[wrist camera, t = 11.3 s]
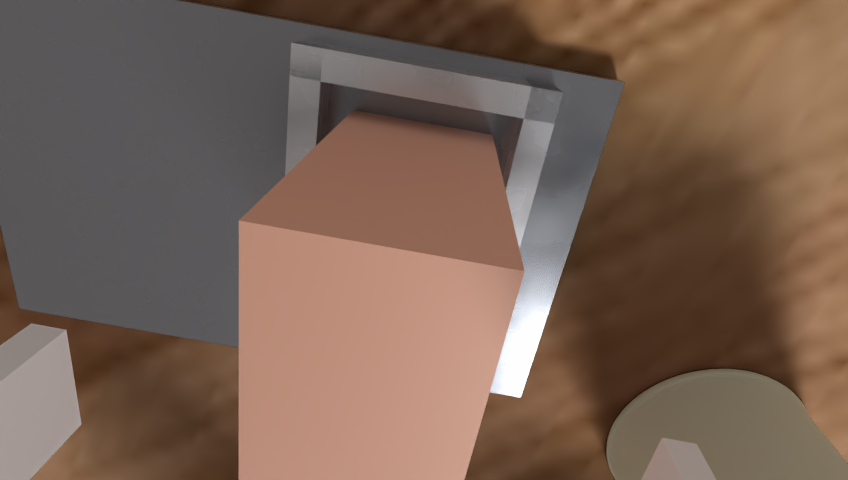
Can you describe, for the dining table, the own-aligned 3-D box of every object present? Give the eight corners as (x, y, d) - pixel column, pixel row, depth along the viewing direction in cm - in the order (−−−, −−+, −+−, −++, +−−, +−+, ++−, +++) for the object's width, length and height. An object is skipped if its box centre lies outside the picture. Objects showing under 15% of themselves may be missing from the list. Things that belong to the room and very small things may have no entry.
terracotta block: (446, 338, 21) (435, 580, 12) (332, 318, 21) (238, 545, 12) (492, 134, 18) (524, 271, 9) (353, 109, 18) (238, 220, 9)
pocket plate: (617, 79, 17) (638, 88, 15) (518, 385, 23) (524, 420, 21) (-39, -42, 17) (-105, -48, 15) (33, 299, 23) (-8, 326, 21)
